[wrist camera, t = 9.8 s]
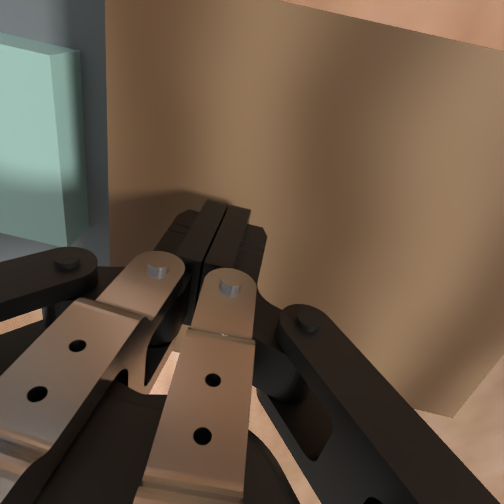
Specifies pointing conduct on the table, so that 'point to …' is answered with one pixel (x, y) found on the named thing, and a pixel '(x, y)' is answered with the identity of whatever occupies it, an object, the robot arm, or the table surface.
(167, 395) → the robot arm
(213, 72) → the brown wooden flat block
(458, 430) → the table surface
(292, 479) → the table surface
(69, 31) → the mat
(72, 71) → the mint green block
